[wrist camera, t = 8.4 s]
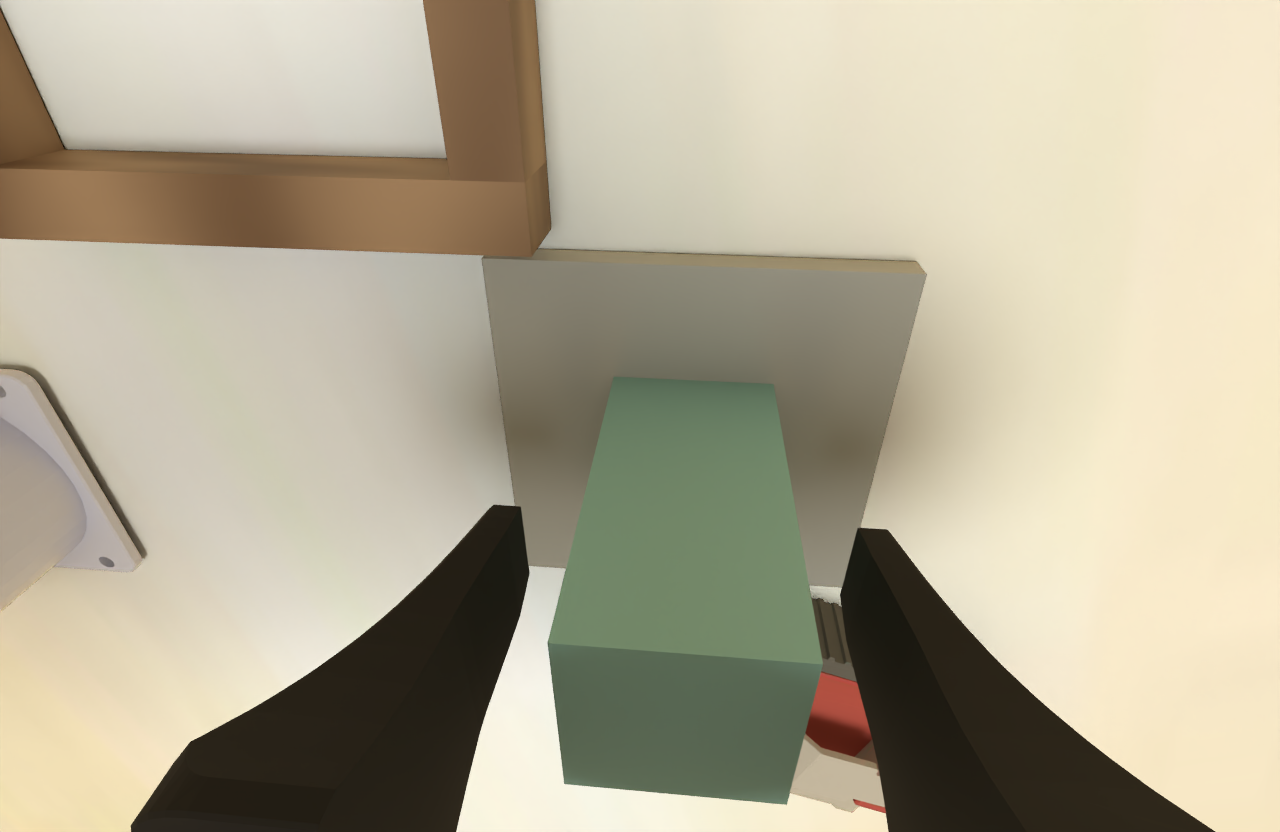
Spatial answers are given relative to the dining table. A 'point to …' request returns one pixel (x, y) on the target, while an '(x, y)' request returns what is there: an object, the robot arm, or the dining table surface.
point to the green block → (686, 600)
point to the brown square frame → (309, 166)
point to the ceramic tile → (700, 369)
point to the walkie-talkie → (837, 728)
